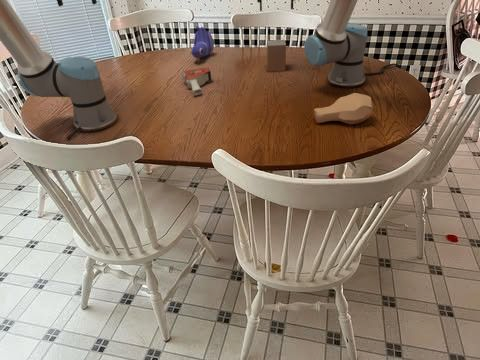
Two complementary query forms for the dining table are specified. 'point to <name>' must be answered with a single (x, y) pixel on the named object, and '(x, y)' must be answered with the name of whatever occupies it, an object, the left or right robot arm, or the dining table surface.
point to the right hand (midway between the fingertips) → (276, 9)
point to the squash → (346, 109)
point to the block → (276, 55)
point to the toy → (202, 43)
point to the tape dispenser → (196, 79)
